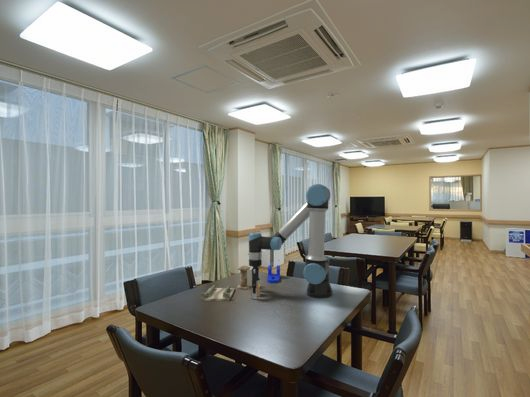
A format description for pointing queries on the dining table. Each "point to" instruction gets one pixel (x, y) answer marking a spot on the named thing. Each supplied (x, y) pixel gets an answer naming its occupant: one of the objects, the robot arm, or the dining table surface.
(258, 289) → the tab
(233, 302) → the dining table surface
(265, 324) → the dining table surface
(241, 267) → the bobbin
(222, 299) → the board
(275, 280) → the bracket
